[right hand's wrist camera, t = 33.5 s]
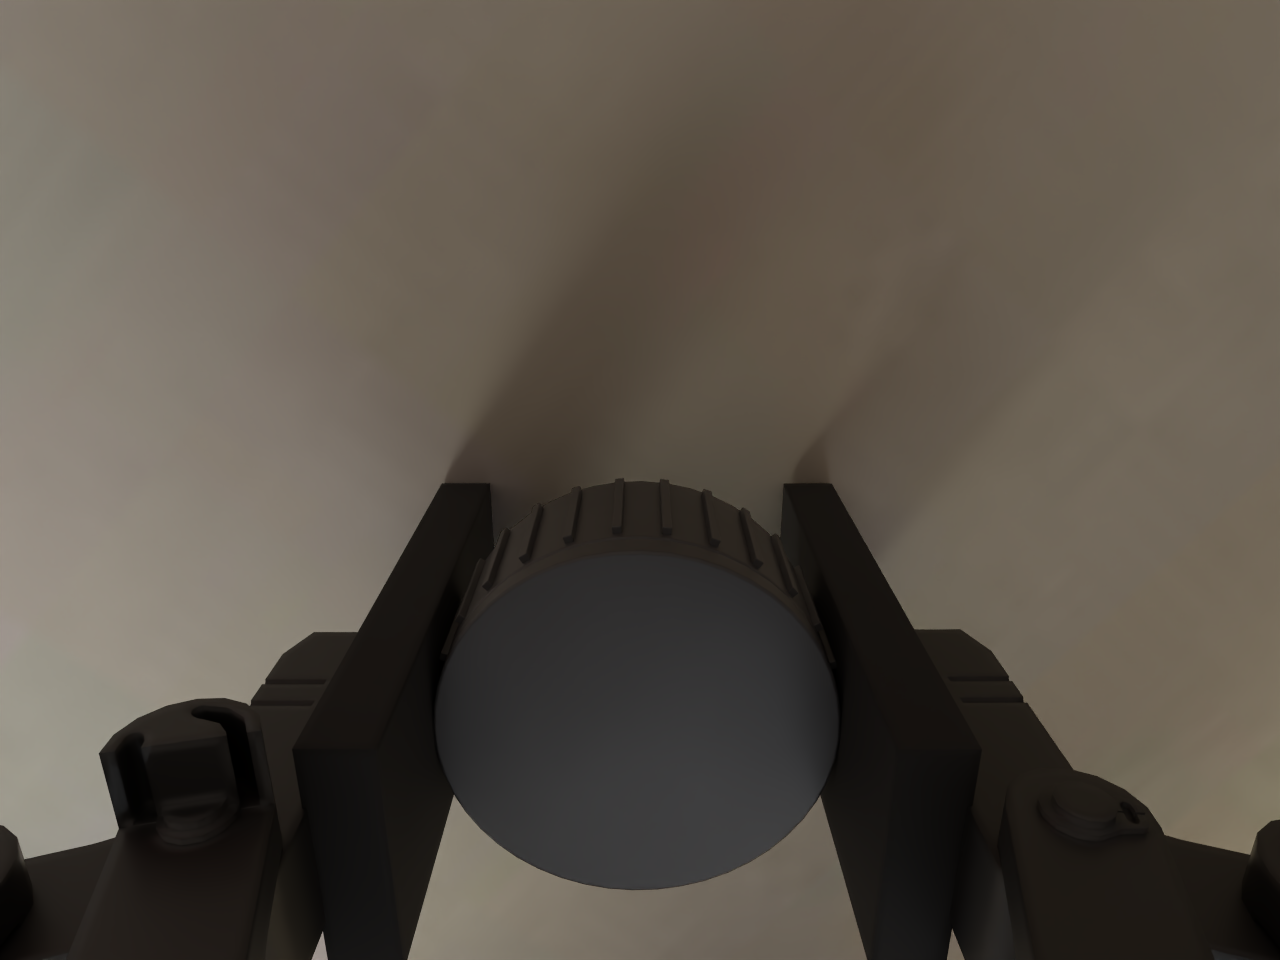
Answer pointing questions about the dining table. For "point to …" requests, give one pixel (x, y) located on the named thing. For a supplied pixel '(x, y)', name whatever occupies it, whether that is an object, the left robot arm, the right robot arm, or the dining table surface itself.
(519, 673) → the lid
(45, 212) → the dining table surface
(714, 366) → the dining table surface
